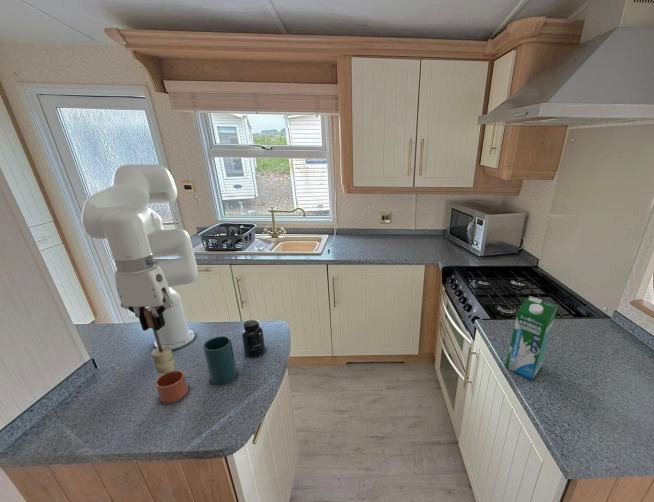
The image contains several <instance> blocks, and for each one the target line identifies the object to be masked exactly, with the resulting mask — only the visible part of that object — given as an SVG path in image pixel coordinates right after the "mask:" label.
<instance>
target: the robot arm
mask: <svg viewBox="0 0 654 502" xmlns="http://www.w3.org/2000/svg"><path fill="white" fill-rule="evenodd" d="M177 189H178V188H177V186H176V183H175V181H174V178H173V176H172V174H171V172H170V171H169V170H168V169H167V167H165V166H163V165H161V164H123V165H120V166H118V167H117V168H115V170H114V171H113V174H112V180H111V186H109V187H107V188H104V189H103V190H100V191H97V192H95V193H93V194H92V195H90V196H88V197H87V199H85V201H84V204H83V207H82V211H81V225H82V227H83V230H84V232H85V233H86V235H88V236H89V237H91V238H92V239H96V240H97V239H98V240H106V242H107V245H108V249H109V252H110V254H111V255H110V256H111V258H112V261H113V264H114V267H115V270H114V281H115V282H114V283H115V286H116V287H115V288H116V292H117V295H118V298H119V301H120V308H123V309H125V310H129V311H130V312H131V313H133V314H134V317H136V318H138V319H139V323H140V326H141V329H142V331H145V332H146V331H147V330H149V329H150V328H148V325H147V322H146V319H145V316H144V312H143V310H144V309H146V308H151V311H152V314H153V317H152V321H153V325H154V328H155V330H157V332H158V336H159V339H160V342H161V346H162V347H163V346H168V347H170V348H171V351H173V350H177V349H180V348H183V347H184V346H187V345H188V344H190V343H191V342H192V341H193V340H194V339H195V336H196V335H195V331H193V330H191V329H189V327H188V323H187V322H188V321H187V319H186V315H185V312H184V306H183V302H182V300H181V299H182V298H181V296H180V294H179V293H178V292H177V291H176V290H175V289H173V288H172V287H178V286H183V285H184V286H185V285H189V284H194V283H195V282H197V281H198V279H199V270H198V265H197V262H196V258H195V257H196V256H195V251H194V247H193V244H192V239H191V237H190V235H189V233H188V231H187V230H185V229H182V228H172V229H171V228H169V229H165V228H164V224H163V219H162V217H161V216H160V215H159V214H158V213H157V212H156V211H154V210H153V209H152V208H150V207H149V206H147V205H148V204H164V203H165V204H166V203H173V202H175V201H176V200H177V198H178V190H177ZM170 257H177V258H170ZM160 258H170V259H160ZM159 259H160V260H159ZM153 345H154V347H155V349H157V348H158V345H157V342H156V340H154V343H153Z"/></svg>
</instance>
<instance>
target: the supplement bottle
mask: <svg viewBox="0 0 654 502" xmlns="http://www.w3.org/2000/svg"><path fill="white" fill-rule="evenodd" d="M241 339H242V345H243V352H244V355H245V356H247V357H250V358H255V357H258V356H260V355H262V354H264V352H265V350H266V347H265V339H264V330H263V328H262V327H261V326H260V323H259V320H257V319H248V320H246V321H245V322H244V323H243V329H242V332H241Z"/></svg>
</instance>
